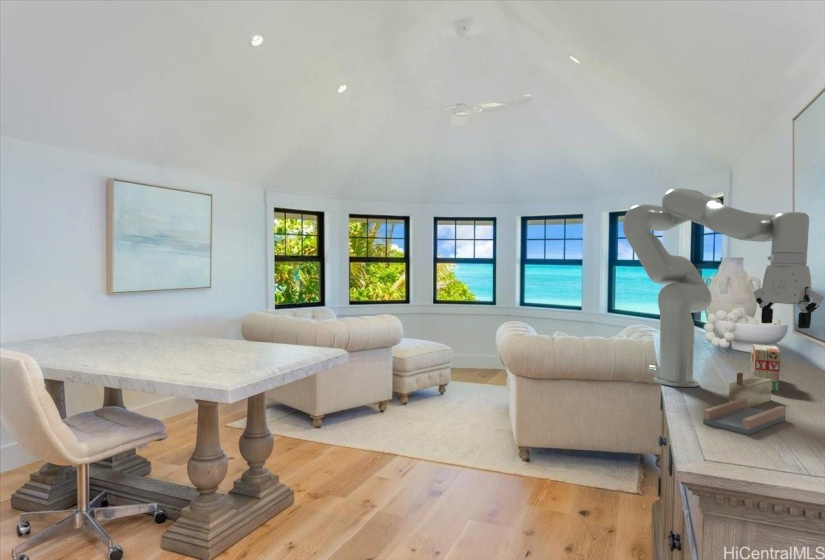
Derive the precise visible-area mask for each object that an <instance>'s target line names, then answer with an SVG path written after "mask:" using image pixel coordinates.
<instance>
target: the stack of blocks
mask: <svg viewBox="0 0 825 560" xmlns="http://www.w3.org/2000/svg"><path fill="white" fill-rule="evenodd" d="M781 353H782V352H781V351H780V349H779V347H777V346H776V345H768V344H767V345H766V344H756V343H755V344H754V343H753V344H752V349H750V378H752V377H760V378H766V379H772V388H771V392H779V390H780V370H781Z"/></svg>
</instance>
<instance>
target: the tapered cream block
mask: <svg viewBox="0 0 825 560" xmlns="http://www.w3.org/2000/svg"><path fill="white" fill-rule="evenodd" d="M743 377H744V372H737V373H736V381H733V382H730V383H729V386H728V387H729V391H728V402H731V401H734V400H738V399H741V398H744V399H747V407H749V408H753V407H755V406H757V405H760V404H764V403H767V402H769V401H772V391H771V388H772V379H766V378H760V377H752V378H751V377H748V378H746V379H743Z"/></svg>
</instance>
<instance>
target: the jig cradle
mask: <svg viewBox="0 0 825 560" xmlns="http://www.w3.org/2000/svg"><path fill="white" fill-rule="evenodd" d="M786 409H787V408H786V406H784V405H783V406H782V405H778V406H775V407H773V408H770V409H768V410H762V409H758V408H753V407H747V399H744V398H741V399H738V400H734V401H731V402H729V401H727V402H725V403H721V404H718V405H716V406H713V407H709V408H706V409H703V415H702V416H703V418H702V419H703V420H702V421H703V423H702V424H704V425H707V426H712V427H717V428H719V429H723V430H728V431H731V432H734V433H740V434H743V435H747V436H750V435H753V434H754V433H758V432H759V431H762V430H764V429H767V428H769V427H772V426H774V425H777V424H779V423H782V422H784V421H786V411H787V410H786Z"/></svg>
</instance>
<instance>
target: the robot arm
mask: <svg viewBox="0 0 825 560" xmlns="http://www.w3.org/2000/svg"><path fill="white" fill-rule="evenodd" d="M623 218H624V219H623V223H622V230H623V234H624V237H625V239H626V240H627V242H628V244H629V245H630V247H631V248H632V250H633V251H634V253H635V255H636V257H637V258H638V260H639V262H640V264H641V266H642V267H643V269H644V271H645V273H646V275H647V276H648V278H649V280H650V281H651V282H653V283H654V284H659V285H664V286H663V287H662V288H661V289H660V291H659V293H658V296H657V304H658V311H659V320H660V321H659V322H660V325H659V330H660V331H659V358H658V361H659V365H657V366H655V365H650V364H649V366H648V369H647V370H648V373H654V374H655V375H654V376H653V382H655V383H658V384H660V385H661V384H662V385H665V386H671V387H679V388H695V387H697V386H699V381H698V380H697V379H694V359H695V358H694V357H695V354H694V353H695V351H694V350H695V322H694V320H693V316H692V313H701V312H704V311H706V310H707V309H709V307H710V305H711V303H712V294H711V291H710V289H709V287H708V285H707V284H706V282H705V280H704V279H703V277H702V276H701V275H700V273H699V271H698V269H697V268H696V266H695V265H694V264H693V262H691V261H690V260H689V259H688V258H686V257H685V256H681V255H675V254H674V255H673V254H670V253H669V252H668V251H667V249H666V248H665V246H664V245H663V243H662V241H661V240H660V239H659V238H658V237H657V236H656V235H655V234H654V233H653V232H652V231H656V232H663V231H668V230H670V229H674V228H675V227H677V226H679V225H682V224H684V223H687V222H688V221H690V222H692V223H696V224H697V225H701V226H704V227H705V228H707V229H709V230H712V231H714V232H716V233H719V234H721V235H724V236H728V237H729V238H730V237H731V238H733V239H736V240H739V241H747V242H748V241H749V242H750V241H751V242H760V243H765V242H771V247H770V248H771V249H770V250H771V251H770V255H768V256H767V261H768V262H769V261H770V264H769V265H768V264H767V266H766V268H765V270H764V275H763V281H762V286H761V288H758V289H757V290H753V295H754V298H755V302H756V303H757V304H758V306H759V308H760V309H761V318H760V319H761V320H760V321H761V324H772V323H773V319H774V309H773V308H772V307H773V306H774V304H783V305H784V304H785V305H796V306H797V307H798V309H799V310H800V312H798V321H797V324H798V325H797V327H798V328H799V329H810V327H811V325H812V313H813V314H814V313H815V310H817V309H818V308H819V307H820V304H821V303H822V302H823V300H824V295H821V294H820V293H818V292H817V291H814V289H812V277H811V270H810V266H809V265H808V264H807V262H808V246H809V229H810V215H808V214H807V213H805V212H800V211H799V212H797V211H793V212H792V211H790V212H780V213H777V214H765V213H759V212H758V213H757V212H749V211H745V210H742V209H738V208H734V207H731V206H728V205H725V204H723V201H722V200H721V199H719V198H717V197H713V196H710V195H706V194H704V193H703V192H701V191H700V190H695V189H689V188H683V187H676V188H675V187H674V188H671V189H669V190H668V191H667V192H666V193H665V194H664V195H663V197H662V199H661V205H656V204H645V203H642V204H637V205H633V206H632V207H629V209H628V210H627V211H626V213H625V215H624V216H623ZM811 299H812V302H811Z"/></svg>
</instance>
